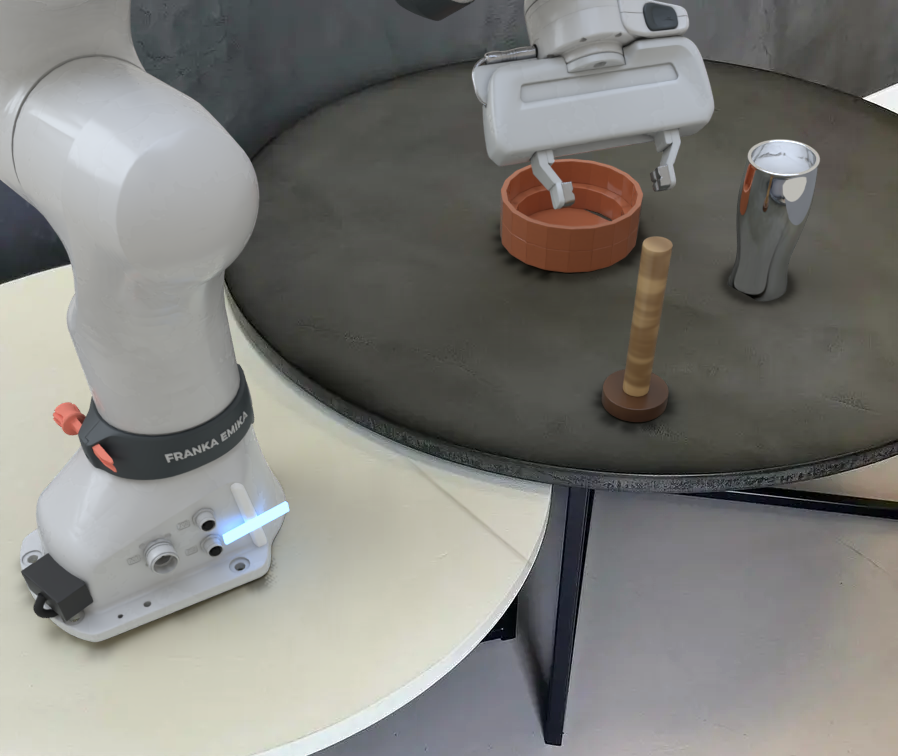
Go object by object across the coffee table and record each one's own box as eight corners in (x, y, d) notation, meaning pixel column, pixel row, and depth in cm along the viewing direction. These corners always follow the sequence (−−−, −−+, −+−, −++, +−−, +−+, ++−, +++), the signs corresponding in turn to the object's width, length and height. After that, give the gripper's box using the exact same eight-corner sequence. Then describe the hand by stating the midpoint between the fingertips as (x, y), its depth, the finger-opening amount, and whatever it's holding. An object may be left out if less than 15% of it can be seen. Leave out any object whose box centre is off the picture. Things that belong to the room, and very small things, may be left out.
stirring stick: (635, 431, 89) (660, 272, 77) (588, 399, 92) (605, 242, 80) (680, 403, 91) (710, 245, 79) (632, 372, 95) (655, 216, 83)
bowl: (566, 295, 104) (570, 245, 99) (472, 238, 112) (472, 189, 108) (664, 244, 110) (672, 194, 106) (568, 193, 118) (572, 145, 114)
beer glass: (791, 311, 101) (824, 178, 90) (721, 306, 102) (745, 174, 91) (789, 271, 105) (820, 139, 94) (722, 267, 106) (745, 136, 95)
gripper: (475, 37, 80) (511, 205, 80) (704, 6, 84) (737, 167, 84) (459, 71, 86) (493, 227, 87) (673, 41, 90) (704, 190, 90)
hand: (615, 197), depth 86 cm, fingers open, 8 cm apart
